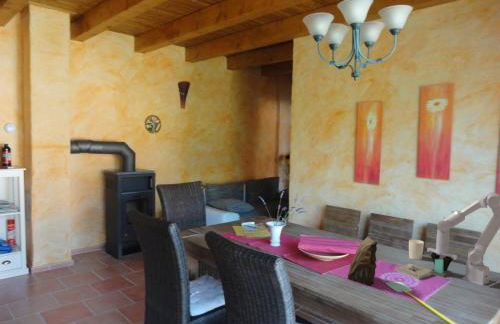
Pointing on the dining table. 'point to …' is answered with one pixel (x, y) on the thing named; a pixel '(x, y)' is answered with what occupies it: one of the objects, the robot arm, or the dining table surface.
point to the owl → (364, 263)
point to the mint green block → (439, 266)
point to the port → (409, 267)
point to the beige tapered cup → (415, 249)
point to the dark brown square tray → (442, 274)
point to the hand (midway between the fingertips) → (440, 269)
